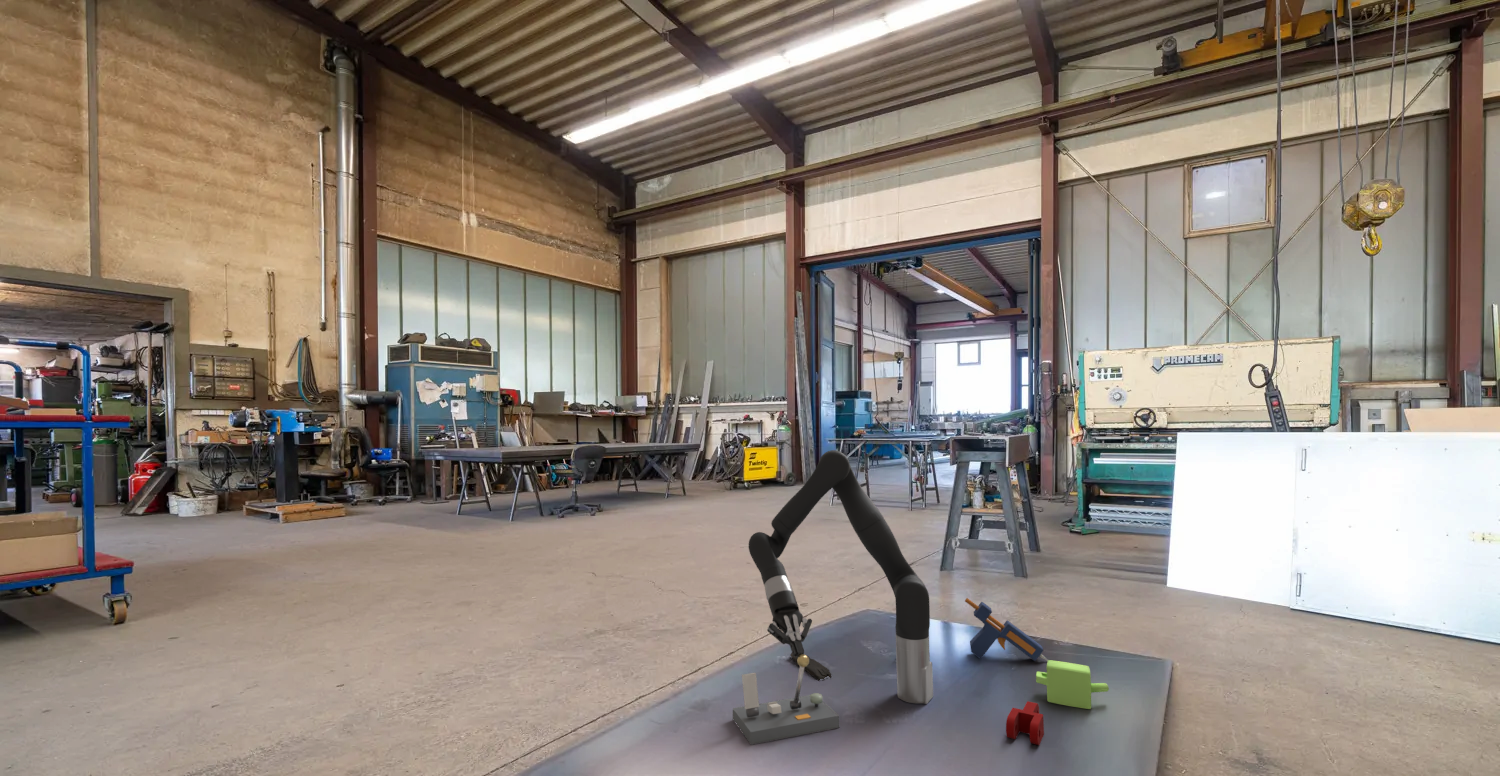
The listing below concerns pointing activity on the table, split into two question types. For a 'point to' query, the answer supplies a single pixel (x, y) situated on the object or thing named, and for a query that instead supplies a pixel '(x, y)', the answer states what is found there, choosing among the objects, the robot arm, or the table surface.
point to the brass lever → (799, 681)
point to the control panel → (785, 720)
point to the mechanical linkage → (1026, 723)
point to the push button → (816, 699)
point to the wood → (815, 668)
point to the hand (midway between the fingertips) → (799, 656)
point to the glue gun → (1000, 634)
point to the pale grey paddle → (750, 694)
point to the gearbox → (1069, 684)
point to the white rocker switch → (774, 707)
